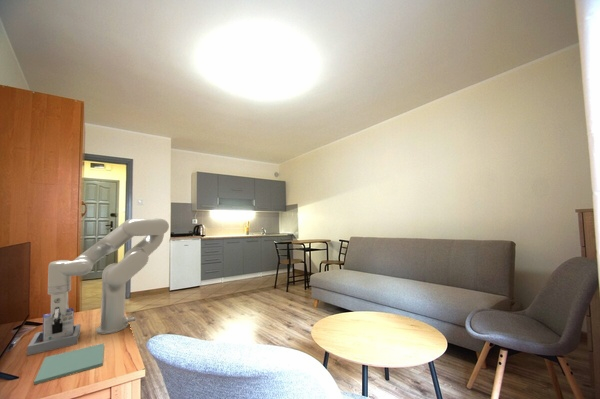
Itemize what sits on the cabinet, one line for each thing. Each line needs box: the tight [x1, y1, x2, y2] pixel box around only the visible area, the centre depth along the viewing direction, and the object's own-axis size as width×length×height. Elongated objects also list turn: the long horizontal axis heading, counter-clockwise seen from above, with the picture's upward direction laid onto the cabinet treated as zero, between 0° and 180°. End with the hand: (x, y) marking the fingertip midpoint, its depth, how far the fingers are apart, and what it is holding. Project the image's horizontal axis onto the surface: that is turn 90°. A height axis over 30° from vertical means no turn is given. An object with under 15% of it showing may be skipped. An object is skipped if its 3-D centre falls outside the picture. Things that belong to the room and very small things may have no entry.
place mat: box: [33, 343, 105, 386], centre depth 97 cm, size 18×18×1 cm
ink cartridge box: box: [42, 307, 75, 342], centre depth 113 cm, size 10×6×14 cm, turn 138°
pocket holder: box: [26, 323, 82, 356], centre depth 112 cm, size 15×15×4 cm
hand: (58, 329), depth 113 cm, fingers closed on ink cartridge box, 6 cm apart
